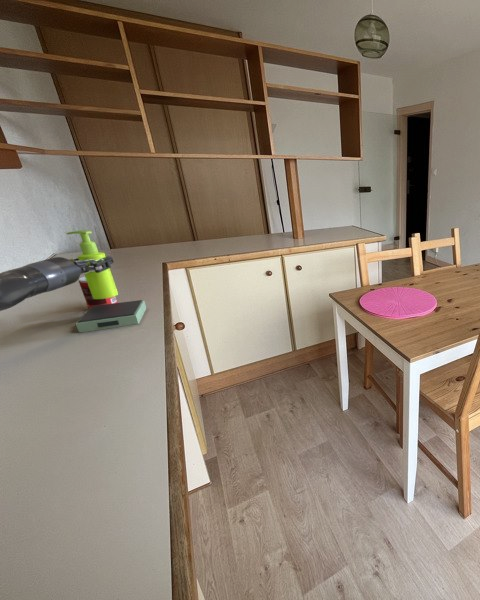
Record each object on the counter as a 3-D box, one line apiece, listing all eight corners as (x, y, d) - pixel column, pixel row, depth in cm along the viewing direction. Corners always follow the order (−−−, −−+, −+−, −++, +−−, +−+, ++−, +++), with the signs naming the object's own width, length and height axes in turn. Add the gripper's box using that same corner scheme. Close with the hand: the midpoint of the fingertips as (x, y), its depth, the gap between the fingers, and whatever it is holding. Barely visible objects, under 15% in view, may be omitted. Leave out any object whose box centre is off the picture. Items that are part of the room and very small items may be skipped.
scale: (78, 332, 92) (74, 322, 91) (93, 315, 103) (90, 305, 102) (138, 324, 98) (135, 314, 97) (146, 308, 110) (143, 299, 109)
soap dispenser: (99, 293, 99) (76, 229, 92) (122, 292, 100) (102, 229, 93) (84, 299, 94) (58, 232, 87) (109, 298, 94) (85, 232, 88)
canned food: (114, 301, 115) (104, 272, 111) (121, 306, 110) (112, 277, 106) (86, 307, 109) (75, 277, 105) (92, 313, 104) (81, 282, 100)
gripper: (74, 260, 79) (122, 247, 95) (10, 260, 78) (69, 247, 93) (84, 288, 82) (128, 271, 97) (22, 289, 80) (77, 271, 96)
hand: (99, 259), depth 95 cm, fingers closed on soap dispenser, 6 cm apart
